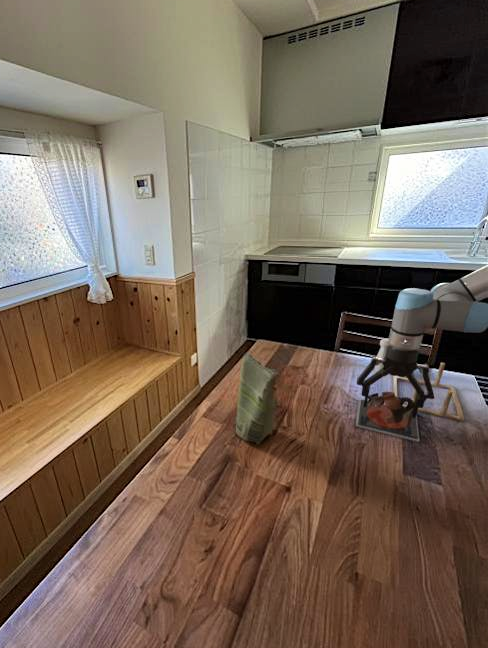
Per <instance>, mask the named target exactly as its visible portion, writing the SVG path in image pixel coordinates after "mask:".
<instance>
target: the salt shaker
mask: <svg viewBox="0 0 488 648" xmlns="http://www.w3.org/2000/svg"><path fill="white" fill-rule="evenodd" d="M388 340H389V338H382V339H381V340H380V341H379V346H380V348H379V351H378V353H377V355H376V357H377V358H381V359H383V358H384V357H385V354H386V350H387V345H388V343H389V342H388ZM382 367H384V366H383V364H382V363H380V364H379V365H377V366H376V365H375V368H374V369H373V370H374V372H375V373H376V372H378V371H379V370H381V368H382Z"/></svg>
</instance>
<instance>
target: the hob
mask: <svg viewBox="0 0 488 648" xmlns="http://www.w3.org/2000/svg"><path fill="white" fill-rule="evenodd" d="M364 400H365V399H359V400H358V405H357V411H356V412H357V413H356V420H355V428H360V429H364V430H367V431H372V432H375V433H379V434H383V435H388V436H391V437H396V438H400V439H403V440H407V441H411V442H415V443H420V441H421V440H420V433H419V423H418V422H419V421H418V413H417V414H416V418H412V410H410V411H408V412H406V413H405V414H404V415H403V420H402V421H401V422H399V423H393V424H387V422H386V419H385V417H388V416H392V412H391V410H390V409H388V408H387V407H386V404H385V403H384V404H383V405H381V407H380V408H378V407H376V406H375V405H374V404H373V403H372V404H371V406H370V407H369V406H368V403H367V406H366V407H364ZM368 401H369V400H368ZM368 401H367V402H368Z"/></svg>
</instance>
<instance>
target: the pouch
mask: <svg viewBox="0 0 488 648" xmlns="http://www.w3.org/2000/svg"><path fill="white" fill-rule="evenodd" d="M261 362H262V360H261V359H260V360H257V359H256V358H255V357H254V356H253V355H251V354H250V353H247V352H244V354H243V356H242V361H241V366H240V371H239V388H238V396H237V397H238V398H237V406H236V407H237V408H236V420H235V432H236V435H237V436H238V437H239V438H240V439H241V440H243V441H245V442H252V443H256V444H257V445H260V444H261V442H263V440H264V439H265V438H266V437H267V436H269V435H273V431H274V422H275V413H274V411H275V410H274V409H275V408H276V407H277V405H278V397H276V396H275V395H274V392H275V391H276V390H277V388H276V387H275V382H276V381H277V379H276V377H277V376H278V374H279V373H278V371H277V370H276V369H273V368H269V367H268V365H263V364H261Z"/></svg>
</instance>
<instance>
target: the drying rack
mask: <svg viewBox="0 0 488 648" xmlns="http://www.w3.org/2000/svg"><path fill="white" fill-rule="evenodd" d="M445 366H446V363H445V362H440V364H439V368H438V372H437V375H436V379H435V382H431V386H432V387H435V388H440V389H441V388H442V389H447V393H446V396H445V399H444V402H443V406H442V408H441V411H436V410H431V409H427V408H418V411H417V412H419V413H424V414H428V415H432V416H437V417H442V418H447V419H451V420H457V421H462V422H464V421H465V417H464V413H463V410H462V407H461V404H460V400H459V396H458V394H457V390H456V387H455V386H453V385H447V384H442V383H441V379H442V376H443V372H444V369H445ZM412 373H413V374H414V373H415V371H413V372H412ZM392 380H393V381H392V382H393V383H392V385H393V386H392V387H393V388H392V389H393V392H394V393H395V396H397V397H398V381H402V382H408V383H411V382H410V381H409V380H408V379H407V377H399V376H392ZM416 380H417V381H418V383H419V384H420V386H421V387H422V385H424V386H426V385H425V382H424V380H420V379H416ZM417 394H418V393H417V392H416V390H415V389H414V391H413V394H412V397H411V399H412V400H413V402H414V403H415V399H416V395H417ZM451 399H453V402H454V406H455V410H456V413H457V415H455V414H451V413H447V412H448V409H449V407H450V403H451ZM407 405H408V404H403V407H406V406H407ZM411 410H413V408H412V409H411Z"/></svg>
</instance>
